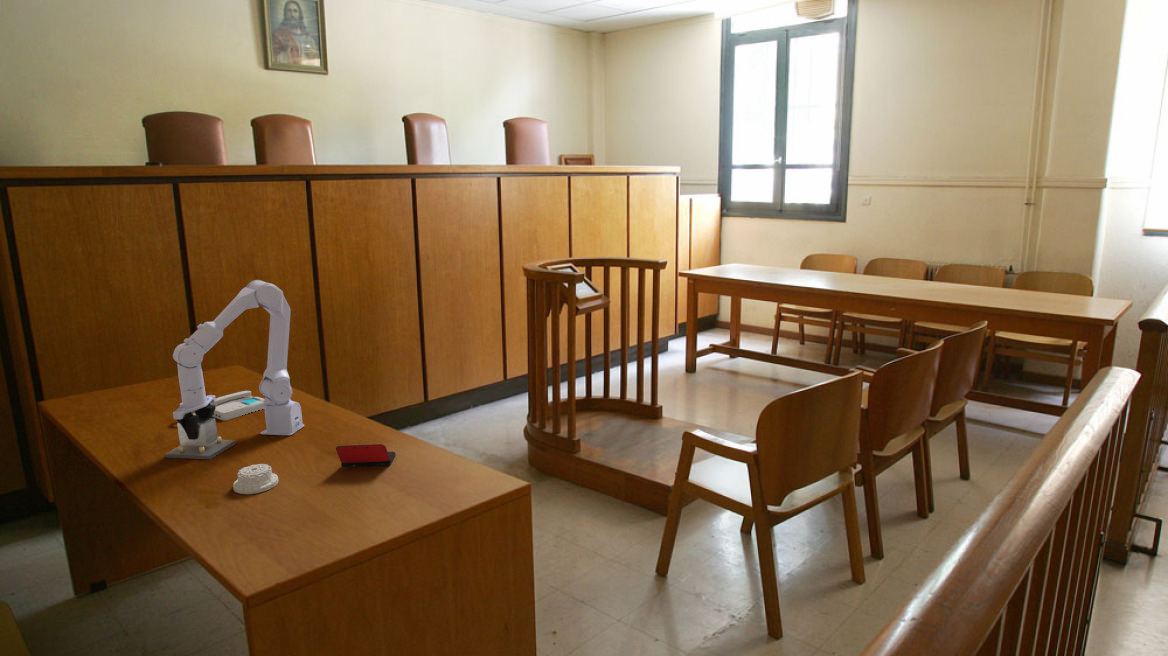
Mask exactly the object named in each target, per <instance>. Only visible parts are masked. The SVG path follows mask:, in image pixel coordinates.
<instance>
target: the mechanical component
mask: <svg viewBox="0 0 1168 656" xmlns="http://www.w3.org/2000/svg"><path fill="white" fill-rule="evenodd" d="M278 484H279V476H278V475H277V474H276V473H273V469H272V466H271V465H268V464H267V463H266V464H265V463H258V464H251V465H249V466H244V467H243V468H240V469H239V470H238V472H237V480H235V481H234V482H233V483H232V487H233V491H234V492H235V493H237V494H241V495H253V494H259V493H262V492H263V493H264V492H266V491H269V490H271V489H272V488H275V487H276V486H277V485H278Z"/></svg>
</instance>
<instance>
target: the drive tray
mask: <svg viewBox="0 0 1168 656" xmlns="http://www.w3.org/2000/svg"><path fill="white" fill-rule="evenodd" d="M235 445H236V440H235V439H222V437H221V436H218V440H216V441H214V442H212V443H211V444H209V445H207V446H205V445H180V444H179V446H177V447H175V448H173V449H171V450H169V451H168V452H166V453H164V454H165V458H169V459H174V458H175V459H196V460H212V459H213V458H215V457H217V456H219V455H220V454H221V453H223V452H225V451H226V450H228V449H229V447H230V448H232V446H235ZM224 450H225V451H224ZM219 453H220V454H219ZM216 455H217V456H216Z"/></svg>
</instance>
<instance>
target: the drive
mask: <svg viewBox="0 0 1168 656" xmlns="http://www.w3.org/2000/svg"><path fill="white" fill-rule="evenodd" d="M176 425H177V431H178V432H177V433H178V439H179V446H180V445H205V446H207V445H209V444H211V443H212V442H214V441H216V440H218V437H219V436H218V430H217V421H216V418H214V417H212V418H198V423H197V434H198V435H197V439H196V440H189V439H188V436H187V434H186V432H185V430H184V428H183V427H182V426H181V424H180V423H179V422H177V424H176Z"/></svg>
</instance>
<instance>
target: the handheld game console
mask: <svg viewBox="0 0 1168 656" xmlns="http://www.w3.org/2000/svg"><path fill="white" fill-rule="evenodd" d="M335 451H336V454H337V456H338V459H339V461H340V462H341V463H340V464H341V468H358V467H359V468H360V467H389V466H391V465H392V462H393V461H394V459H395V457H396V455H397V454H396V452H395V451H388V449H387V446H386V445H385V444H383V443H380V444H357V445H356V444H355V445H353V444H352V445H338V446H336V447H335Z"/></svg>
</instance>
